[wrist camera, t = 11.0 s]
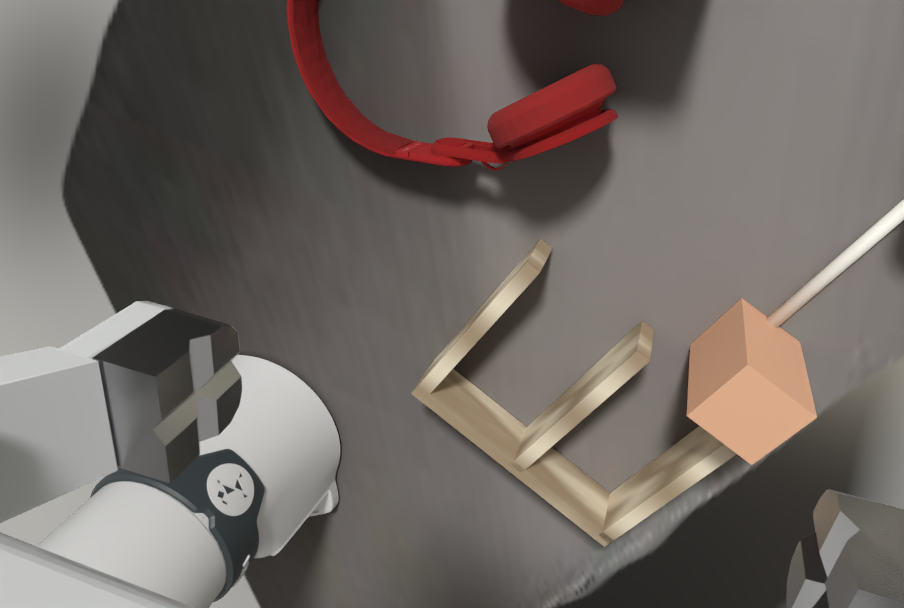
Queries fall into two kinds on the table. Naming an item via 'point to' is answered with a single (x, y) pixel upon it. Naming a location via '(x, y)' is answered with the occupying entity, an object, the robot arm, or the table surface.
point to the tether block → (762, 365)
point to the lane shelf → (564, 424)
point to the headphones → (512, 128)
